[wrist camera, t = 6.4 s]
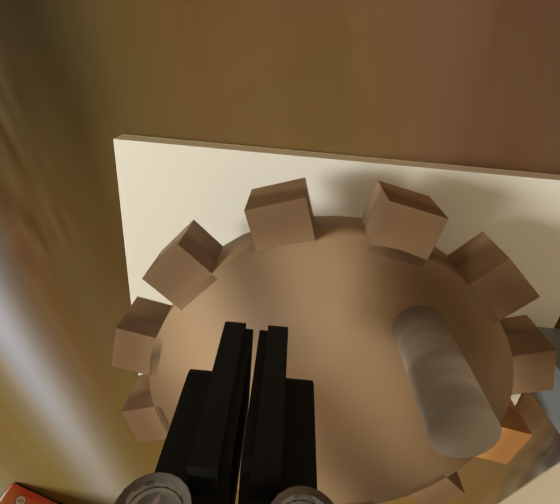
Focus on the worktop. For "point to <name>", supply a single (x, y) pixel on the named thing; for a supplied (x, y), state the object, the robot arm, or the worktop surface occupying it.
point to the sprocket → (352, 336)
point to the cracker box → (22, 496)
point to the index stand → (338, 208)
